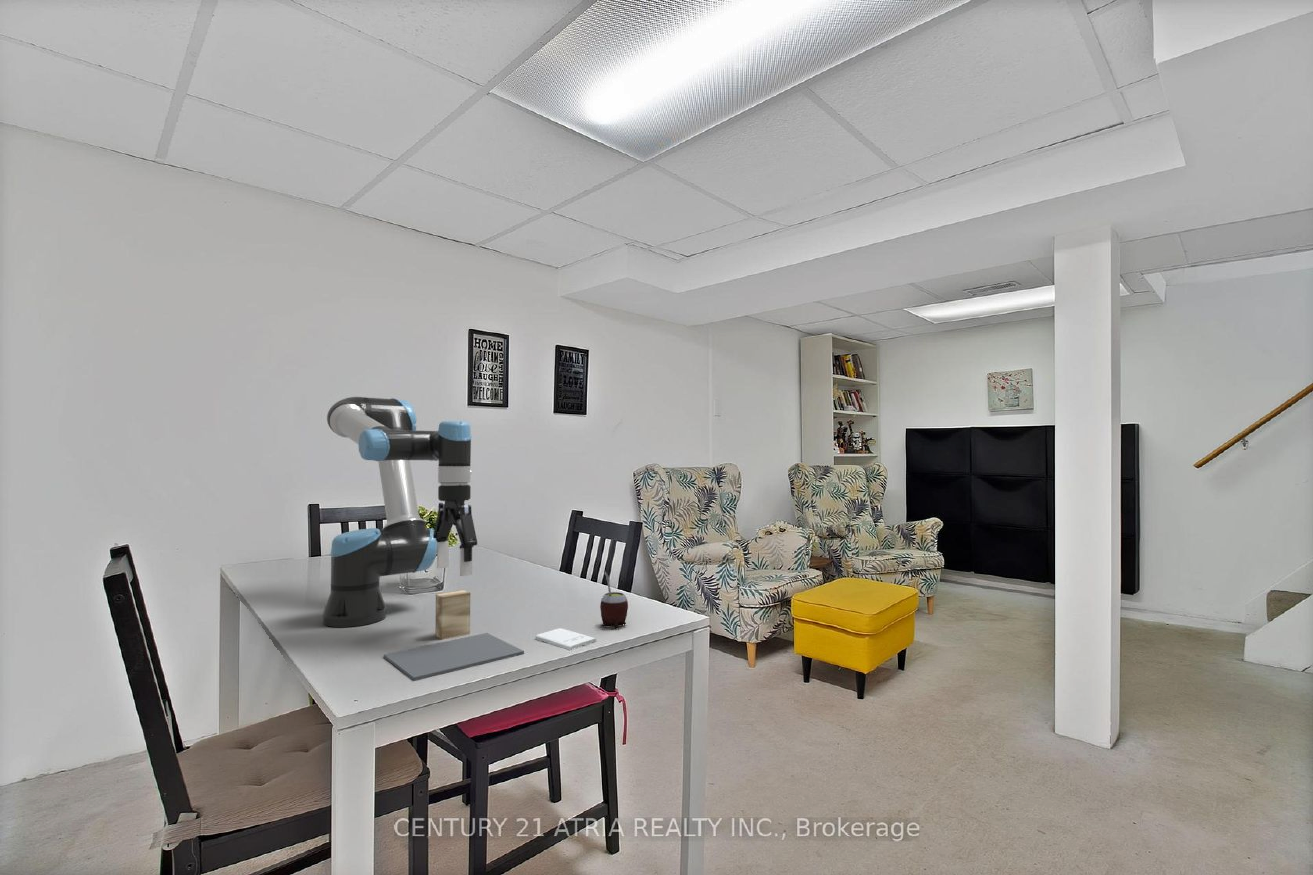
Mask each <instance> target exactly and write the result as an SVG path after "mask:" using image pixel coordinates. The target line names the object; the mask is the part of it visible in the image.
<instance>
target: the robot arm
mask: <svg viewBox="0 0 1313 875" xmlns="http://www.w3.org/2000/svg"><path fill="white" fill-rule="evenodd" d="M326 421H327V425H328V428H330V430H331V431H332V432H333V433H335V434H336V435H337V436H340V437H342V438H348V439H350V440H351V441H353V442H354V443H356V444H357V445H358V452H359V455H360V457H361V458H362V459H363V460H365V461H374V462H378V469H379V475H380V482H381V484H380V485H381V490H382V496H383V503H384V510H385V516H386V524H385V525H384V526H383V527H382V531H381V530H380V529H379V528H374V527H371V528H363V529H355V530H351V531H347V532H344V533H343V532H342V533H341V534H337V535H336V536H334V538H333V539H332V541H331V548H330V554H329V555H330V593H329V597H328V599H327V602H326V604H325V607H324V609H323V614H322V624H323V625H324V626H328V627H333V628H334V627H335V628H346V627H347V628H348V627H350V628H351V627H357V626H365V625H369V624H373V623H377V622H380V621H382V620H384V619H385V618H386V617H387V606H386V603H385V600H384V597H383V595H382V592H381V591H382V590H381V589H380V580H381V579H380V578H381V577H386V576H387V577H389V576H395V575H401V574H402V575H403V574H409V573H410V574H411V573H412V574H415V573H417V572H422V571H426V570H429V569H430V568H431V567H432V566H433V564H434V563H435V559H436V568H437V569H439V570H440V569H445V568H449V567H450V566H449V564H450V542H449V541H450V537H449V535H450V534H451V531H452V527H453V526H455V529H456V532H457V536H458V538H459V541H460V545H459V547H458V548H459V577H466V576H472V575H473V548H474V546H477V545H478V539H477V535H476V534H477V533H476V530H475V529H476V528H475V524H474V519H473V515H472V505H471V504H465V502H466V501H469V500H470V499H471V490H472V489H471V486H470V484H469V483H470V482H471V474H472V472H473V471H472V470H471V456H472V455H471V451H472V449H471V448H472V434H471V431H472V430H471V425H470V423H469V422H467V421H459V420H457V421H456V420H455V421H454V420H451V421H449V420H448V421H446V420H445V421H441V422H440V423H439V425H438V429H437V430H417V416H416V412H415V409H414V407H413V406H412V404H411V403H410V402H408V401H407V400H405V399H398V398H380V397H377V398H376V397H365V396H364V397H362V396H350V397H346V398H344V399H340V400H338V401H337V402H335V403H334V404H333V405H331V407H330V408H329V409H328V412H327V415H326ZM411 461H430V462H432V461H433V462H434V461H438V468H437V483H438V484H440V485H439V486H438V487H437V488H438V490H437V493H438V494H437V495H438V496H437V497H438V501H440V502H439V503H438V510H437V515H436V520H435V526H434V529H432V528H427V522H426V520H425V519H423V518H421V517H420V514H419V508H418V503H417V502H418V501H417V496H416V489H415V483H414V477H413V470H412V466H411V464H412V463H411ZM441 501H442V502H441Z"/></svg>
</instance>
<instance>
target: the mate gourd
mask: <svg viewBox="0 0 1313 875" xmlns="http://www.w3.org/2000/svg"><path fill="white" fill-rule="evenodd" d="M603 574H604V575H605V577H606V578H605V579H606V584H607V589H608V592H607V593H604V595H603V596H602V597H601V600H600V606H599V608H600V617H601V621H602V624H601V627H602V626H603V627H602V628H607V627H606V626H611V627H613V626H614V627H615V628H620V626H618V625H621V626H624V625H623V624H626V625H627V622H626V619H627V616H628V610H629V603H628V597H627V596H626V594H624V593H623V592H617V591H615V592H614V591H612V590H611V584H610V576H609V575H608V573H607V572H606V570H603ZM611 591H612V592H611ZM614 627H613V628H614ZM615 628H614V629H615Z"/></svg>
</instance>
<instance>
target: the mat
mask: <svg viewBox="0 0 1313 875" xmlns="http://www.w3.org/2000/svg"><path fill="white" fill-rule="evenodd" d="M524 654H525V650H524V649H521V648H519V647H517V646H515V645H512V644H511V643H509V642H506V641H505V640H502V639H501V638H499V637H496V636H494V635H493V634H490V633H488V632H485V633H480V634H475V635H469V636H466V637H460V638H454V639H451V640H447V641H440V642H436V643H432V644H428V645H422V646H418V647H417V646H416V647H414V648H408V649H404V650H398V651H393V652H389V653H384V654H383V658H384V659H385V660H387V662H389V663H390V664H391V665H393V666H395V668H397V669H398V670H399V671H401V672H402V673H404V675H406V676H407V677H409V678H410V679H411V680H413V681H418V680H423V679H427V678H430V677H436V676H439V675H443V674H447V673H451V672H455V671H460V670H463V669H467V668H471V667H476V666H479V665H483V664H488V663H491V662H492V663H493V662H496V661H499V660H504V659H508V658H512V657H516V656H520V655H524Z"/></svg>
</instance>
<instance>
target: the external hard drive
mask: <svg viewBox="0 0 1313 875" xmlns="http://www.w3.org/2000/svg"><path fill="white" fill-rule="evenodd" d="M536 639H537V641H539V642H542V641H544V642H543V643H546V642H547V643H546V644H549V643H550V644H549V645H552V644H554V645H553V646H555V645H557V646H556V647H558V646H560V647H559V648H562V647H563V648H562V649H565V648H568V649H570V650H569V651H572V650H571V649H573V650H575V649H574V648H576V649H578V647H579V648H581V647H580V646H582V645H584V646H586V645H585V644H588V645H591V644H593V643H592V642H594V641H596V642H597V638H595V637H592V636H588V635H585V634H582V633H579V632H575V631H572V630H569V629H566V628H563V627H559V628H555V629H551V630H549V631H545V632H541V633H538V634H535V640H536ZM590 643H591V644H590ZM594 643H595V642H594ZM582 647H583V646H582ZM568 649H567V650H568Z"/></svg>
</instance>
